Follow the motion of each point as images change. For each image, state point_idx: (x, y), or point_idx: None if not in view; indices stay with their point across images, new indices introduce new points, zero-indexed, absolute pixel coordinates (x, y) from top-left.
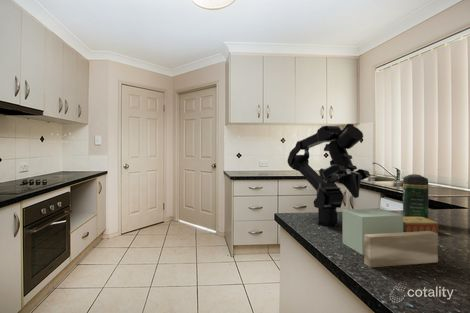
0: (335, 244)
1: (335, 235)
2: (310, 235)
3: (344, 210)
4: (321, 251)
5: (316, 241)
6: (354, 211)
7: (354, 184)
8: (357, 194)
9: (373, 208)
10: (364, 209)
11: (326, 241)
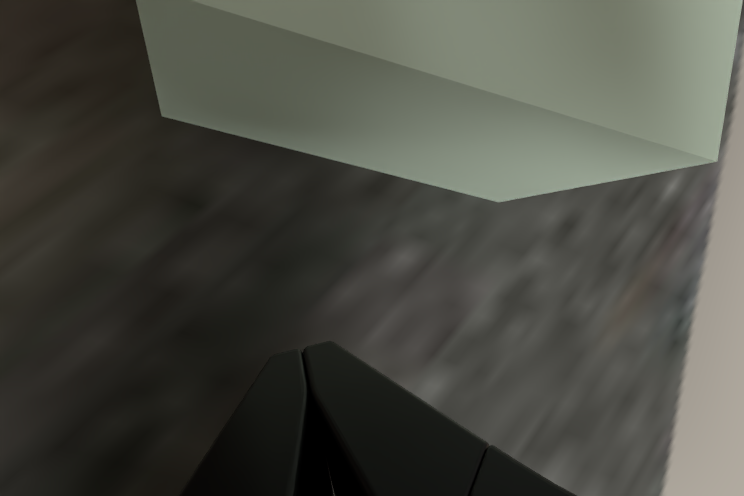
0: (568, 195)
1: (424, 374)
2: (608, 439)
3: (723, 115)
4: (722, 131)
5: (647, 300)
6: (663, 7)
7: (533, 479)
8: (329, 358)
9: (247, 14)
10: (446, 32)
11: (585, 273)
